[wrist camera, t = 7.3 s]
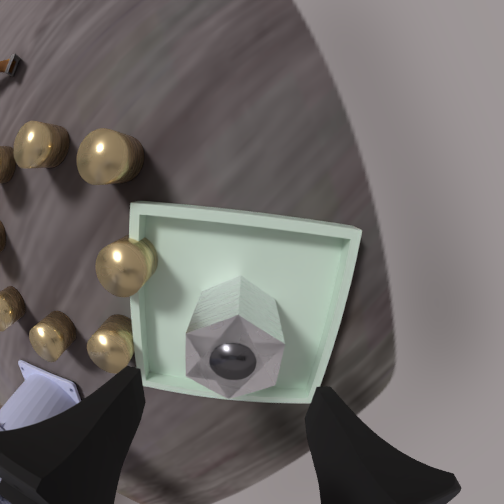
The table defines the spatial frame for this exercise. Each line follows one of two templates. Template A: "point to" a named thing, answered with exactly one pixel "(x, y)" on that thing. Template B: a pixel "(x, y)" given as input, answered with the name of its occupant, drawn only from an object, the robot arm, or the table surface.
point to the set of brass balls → (110, 257)
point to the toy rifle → (9, 65)
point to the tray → (254, 270)
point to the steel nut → (234, 339)
